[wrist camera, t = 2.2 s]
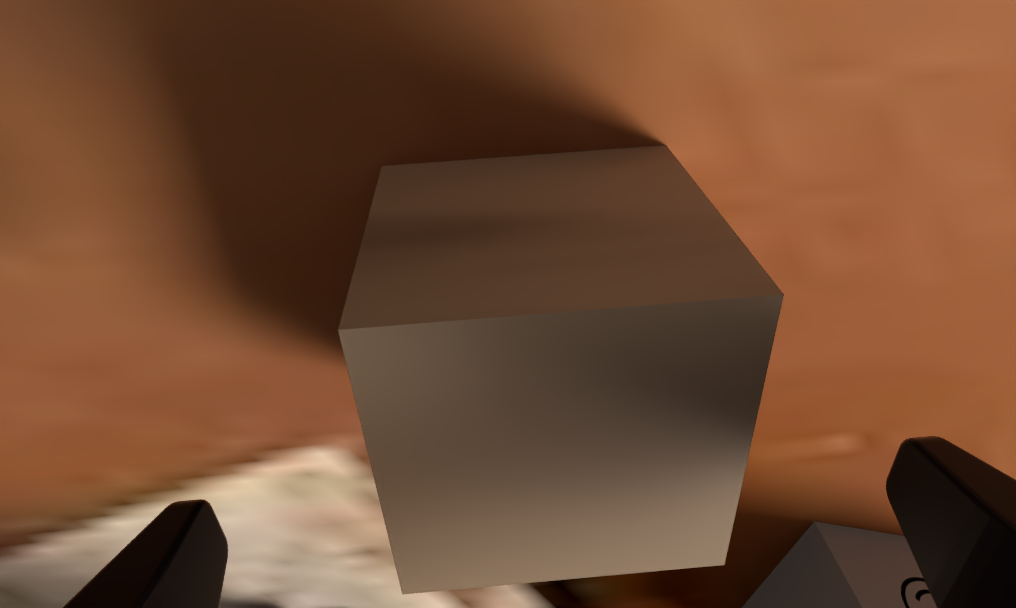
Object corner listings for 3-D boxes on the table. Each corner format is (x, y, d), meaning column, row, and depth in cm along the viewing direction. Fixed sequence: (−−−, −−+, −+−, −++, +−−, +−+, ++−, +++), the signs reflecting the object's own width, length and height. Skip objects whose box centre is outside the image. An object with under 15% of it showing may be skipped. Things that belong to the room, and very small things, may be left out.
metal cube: (646, 363, 14) (724, 564, 10) (419, 382, 14) (402, 594, 10) (664, 143, 11) (783, 294, 7) (382, 164, 11) (337, 330, 7)
